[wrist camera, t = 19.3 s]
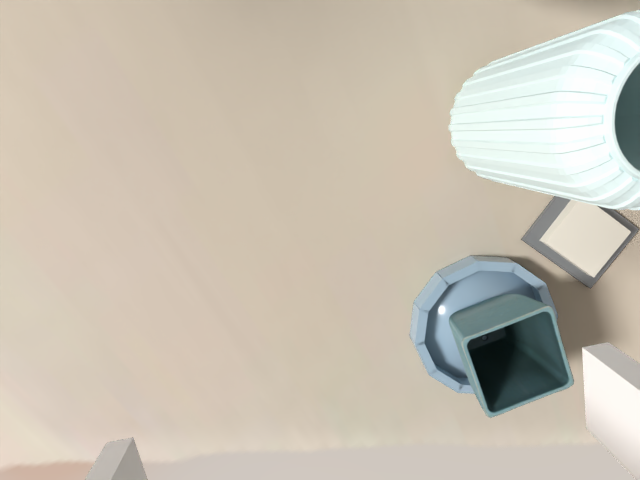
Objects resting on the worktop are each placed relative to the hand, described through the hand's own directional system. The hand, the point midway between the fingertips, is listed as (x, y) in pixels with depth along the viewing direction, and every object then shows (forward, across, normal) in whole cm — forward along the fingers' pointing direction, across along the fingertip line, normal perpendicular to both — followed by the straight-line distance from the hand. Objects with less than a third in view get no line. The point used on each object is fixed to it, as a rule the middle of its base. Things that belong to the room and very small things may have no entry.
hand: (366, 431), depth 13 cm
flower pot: (+34, +16, -16) cm, 41 cm away
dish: (+34, +16, -16) cm, 41 cm away
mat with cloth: (+35, +28, -8) cm, 45 cm away
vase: (+35, +20, +6) cm, 40 cm away
